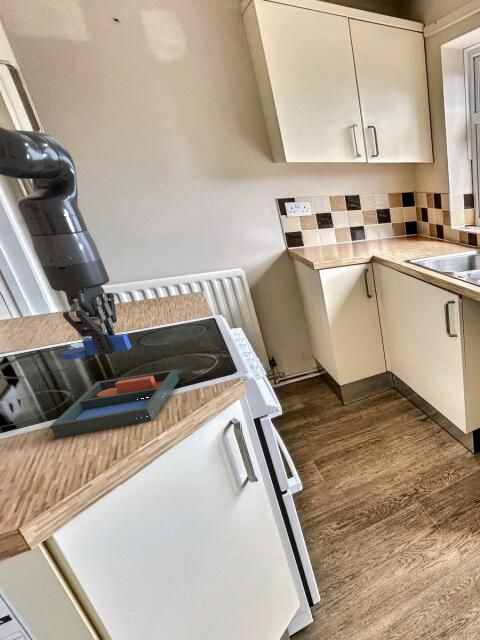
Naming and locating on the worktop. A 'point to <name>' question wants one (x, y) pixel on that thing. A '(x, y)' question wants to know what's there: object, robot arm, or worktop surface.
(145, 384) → the red long piece
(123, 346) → the blue spoon
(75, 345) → the pacifier
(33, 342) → the worktop surface
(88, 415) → the sorting tray
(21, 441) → the worktop surface
